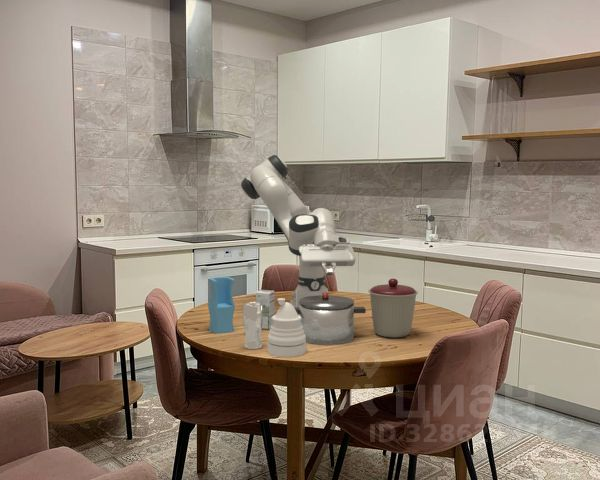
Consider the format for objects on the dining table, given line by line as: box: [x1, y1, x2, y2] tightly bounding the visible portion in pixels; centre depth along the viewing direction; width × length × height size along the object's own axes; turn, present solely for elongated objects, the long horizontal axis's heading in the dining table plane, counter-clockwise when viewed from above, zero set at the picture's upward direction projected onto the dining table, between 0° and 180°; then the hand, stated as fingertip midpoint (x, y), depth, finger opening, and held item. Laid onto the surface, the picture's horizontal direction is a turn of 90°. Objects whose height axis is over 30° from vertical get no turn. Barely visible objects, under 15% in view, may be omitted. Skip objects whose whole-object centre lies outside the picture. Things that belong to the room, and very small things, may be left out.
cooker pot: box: [294, 304, 366, 346], centre depth 216 cm, size 22×28×12 cm
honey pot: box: [267, 297, 307, 358], centre depth 197 cm, size 13×13×18 cm
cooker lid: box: [299, 292, 355, 309], centre depth 214 cm, size 20×20×3 cm
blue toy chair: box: [207, 276, 236, 334], centre depth 224 cm, size 8×8×20 cm
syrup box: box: [255, 289, 275, 331], centre depth 229 cm, size 6×6×14 cm
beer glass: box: [242, 301, 263, 350], centre depth 202 cm, size 7×7×15 cm
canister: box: [368, 278, 419, 339], centre depth 219 cm, size 18×18×21 cm
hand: (329, 274), depth 214 cm, fingers closed
